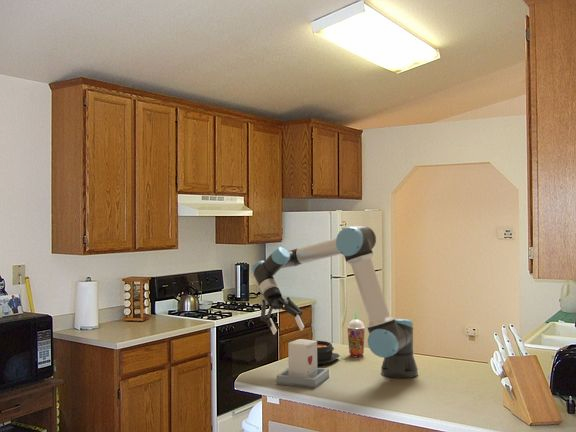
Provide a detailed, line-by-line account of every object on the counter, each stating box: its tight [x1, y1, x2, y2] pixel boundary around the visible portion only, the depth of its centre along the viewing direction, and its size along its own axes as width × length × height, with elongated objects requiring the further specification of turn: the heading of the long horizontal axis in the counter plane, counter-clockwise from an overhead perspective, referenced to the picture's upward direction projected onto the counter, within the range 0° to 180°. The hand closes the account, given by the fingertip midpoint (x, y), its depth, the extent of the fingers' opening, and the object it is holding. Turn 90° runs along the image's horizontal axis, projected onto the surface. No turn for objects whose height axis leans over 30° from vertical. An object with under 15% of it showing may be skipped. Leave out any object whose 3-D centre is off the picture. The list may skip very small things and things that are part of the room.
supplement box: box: [287, 338, 318, 378], centre depth 241 cm, size 9×9×15 cm
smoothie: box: [346, 313, 366, 358], centre depth 282 cm, size 8×8×20 cm
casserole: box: [316, 340, 341, 366], centre depth 271 cm, size 25×19×8 cm
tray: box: [276, 367, 330, 389], centre depth 241 cm, size 16×16×4 cm
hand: (289, 330), depth 250 cm, fingers open, 13 cm apart
